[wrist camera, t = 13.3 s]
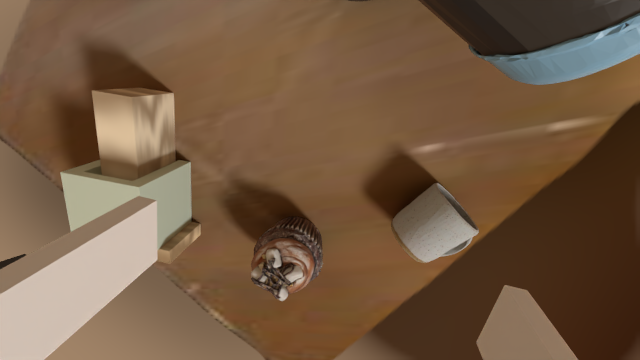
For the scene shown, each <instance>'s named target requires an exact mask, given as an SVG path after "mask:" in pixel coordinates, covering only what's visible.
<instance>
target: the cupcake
mask: <svg viewBox="0 0 640 360" xmlns="http://www.w3.org/2000/svg"><path fill="white" fill-rule="evenodd" d="M322 259H323V254H322V240H321V235H320V232H319V230H318V229H317V228H316V227H315V225H314V224H313V223H311V222H310V221H308V220H306V219H303V218H300V217H288V218H285V219H282V220H281V221H279V222H277V223H276V224H275V225H274V227H272V228H270V229H269V230H267V231H266V232H265V233H264V234H263V235H262V236H261V237H260V238H259V240H258V242H257V244H256V245H255V247H254V257H253V260H252V263H251V267H252V272H251V277H252V278H251V279H252V281H253V282H254V284H256V285H258V286H259V287H261V288H262V289H264V290H267V291H270V292H271V293H272V294H273V295H274V297H275V298H276V299H279V300H280V301H283V300H285V299H286V298H287V296H288V294H291V293H294V292H297V291H299V290H301V289H303V288H304V287H305V286H306V285H307V284H308V283H309V282H310V281H311V280H313V279H315V277H317V276H318V272H321V269H320V268H322V264H323V261H322Z"/></svg>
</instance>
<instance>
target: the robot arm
mask: <svg viewBox="0 0 640 360" xmlns="http://www.w3.org/2000/svg"><path fill="white" fill-rule="evenodd" d="M349 1H368V0H349ZM419 1H420V2H421V3H422V4H423V5H425V6H426V7H427V8H428V9H429V10H430V11H431V12H432V13H434V14H435V15H436V16H437V17H438V18H439V19H440V20H442V21H443V22H444V23H445V24H446V25H447V26H448V27H450V28H451V29H452V30H453V31H454V32H455V33H456V34H458V35H459V36H460V37H461V38H462V39H463V40H464V41H466V42H467V43H468V44H469V49H470V50H471V52H472V53H473V54H474V55H476V56H477V57H479V58H482V59H484V60H486V61H489V62H490V63H491V64H493V65H494V66H495V67H496V68H498V69H499V70H500V71H501V72H503V73H504V74H505V75H506V76H508V77H509V78H511V79H513V80H515V81H520V82H523V83H526V84H534V85H542V84H553V83H559V82H565V81H569V80H573V79H577V78H580V77H583V76H587V75H590V74H592V73H595V72H598V71H601V70H603V69H606V68H608V67H611V66H613V65H616V64H618V63H620V62H623V61H625V60H627V59H629V58H631V57H633V56H635V55H638V54H640V0H419ZM156 260H157V200H154V199H149V198H145V197H141V196H137V197H135V198H133V199H132V200H130V201H128V202H126V203H124V204H122V205H120V206H118V207H117V208H115V209H113V210H111V211H109V212H107V213H105V214H103V215H102V216H100V217H98V218H96V219H94V220H92V221H90V222H88V223H86V224H85V225H83V226H81V227H79V228H77V229H75V230H73V231H71V232H70V233H68V234H66V235H64V236H62V237H60V238H58V239H56V240H54V241H53V242H51V243H49V244H47V245H45V246H43V247H41V248H39V249H38V250H36V251H34V252H32V253H30V254H28V255H26V254H23V255H20V256H17V257H14V258H11V259H7V260H5V261H1V262H0V360H44V359H45V358H46V357H48V356H49V355H50V354H51V353H52V352H53V351H54V350H56V349H57V348H58V347H59V346H60V345H61V344H62V343H63V342H64V341H66V340H67V339H68V338H69V337H70V336H71V335H73V333H75V332H76V331H77V330H78V329H79V328H80V327H82V326H83V325H84V324H85V323H86V322H87V321H88V320H89V319H91V318H92V317H93V316H94V315H95V314H96V313H97V312H99V310H101V309H102V308H103V307H104V306H105V305H106V304H108V303H109V302H110V301H111V300H112V299H113V298H114V297H116V296H117V295H118V294H119V293H120V292H121V291H122V290H124V289H125V288H126V287H127V286H128V285H129V284H130V283H131V282H132V281H134V280H135V279H136V278H137V277H138V276H139V275H140V274H141V273H143V272H144V271H145V270H146V269H147V268H148V267H150V266H151V265H152V264H153V263H154V262H155V261H156ZM476 343H477V345H478V348H479V350H480V353H481V355H482V358H483V360H578V359H577V358H576V356H575V355H574V353H573V352H572V351H571V349H570V348H569V347H568V345H567V344H566V343H565V341H564V340H563V339H562V337H561V336H560V334H559V333H558V332H557V330H556V329H555V328H554V326H553V325H552V323H551V322H550V321H549V320H548V318H547V317H546V315H545V314H544V313H543V311H542V310H541V309H540V307H539V306H538V304H537V303H536V302H535V300H534V299H533V298H532V296H531V295H530V294H529V292H528V291H527V290H523V289H519V288H515V287H511V286H507V285H505V286H504V288H503V290H502V292H501V294H500V296H499V298H498V300H497V302H496V304H495V306H494V308H493V310H492V312H491V314H490V316H489V318H488V320H487V322H486V324H485V326H484V328H483V330H482V332H481V334H480V336H479V338H478V340H477V342H476Z"/></svg>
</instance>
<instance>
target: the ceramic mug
mask: <svg viewBox="0 0 640 360" xmlns="http://www.w3.org/2000/svg"><path fill="white" fill-rule="evenodd" d="M391 227H392V231H393V234H394V236H395V238H396V240H397V241H398V243H399V244H400V246H401V247H402V248H403V249H404V250H405V252H406V253H407V254H408V255H409V256H411V257H412V258H413V259H415V260H416V261H418V262H421V263H426V262H429V261H432V260H434V259H436V258H438V257H440V256H448V255H452V254H455V253H457V252H459V251H461V250H462V249H464V248H465V247H466V246H468V245H469V243H470V242H471V240H472V237H473V236H475V235H476V234H478V233H479V230H478V228H477V226H476V224H475V223H474V221H473V220H472V219H471V217H470V216H469V215H468V214H467V212H466V211H465V210H464V209H463V207H462V206H461V205H460V204H459V203H458V202H457V201H456V200H455V198H454V197H453V196H452V195H451V194H450V193H449V192H448V191H447V190H446V189H445V188H444V187H443V186H441V185H440V184H439V183H434V184H433V185H432V186H431V187H429V188H428V189H427V190H426V191H424V192H423V193H422V194H421V195H419V196H418V197H417V198H416V199H415V200H414V201H412V202H411V203H410V204H409V205H408V206H406V207H405V208H404V209H402V210H401V211H400V212H399V213H398V214H397V215H396V216H395V217H394V218H393V220H392V223H391Z"/></svg>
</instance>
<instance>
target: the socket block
mask: <svg viewBox="0 0 640 360" xmlns="http://www.w3.org/2000/svg"><path fill="white" fill-rule="evenodd" d="M60 173H61V178H62V184H63V190H64V195H65V200H66V207H67V212H68V218H69V224H70V229H71V231H73V230H75V229H77V228H79V227H81V226H83V225H85V224H86V223H88V222H90V221H92V220H94V219H96V218H98V217H100V216H102V215H103V214H105V213H107V212H109V211H111V210H113V209H115V208H117V207H118V206H120V205H122V204H124V203H126V202H128V201H130V200H132V199H133V198H135V197H137V196H141V197H145V198H149V199H154V200H157V250H158V249H160V248H161V247H162V246H163V245H164V244H166V243H167V242H168V241H169V240H170V239H172V238H173V237H174V236H175V235H176V234H178V233H179V232H180V231H181V230H182V229H184V228H185V227H186V226H187V225H188V224H189V223H191V222H192V217H191V162H188V161H183V160H178V161H176V162H174V163H171V164H169V165H167V166H165V167H163V168H161V169H158V170H156V171H154V172H152V173H150V174H147V175H145V176H143V177H141V178H139V179H136V180H134V181H129V180H124V179H119V178H113V177H108V176H103V175H102V172H101V163H100V160H97V161H94V162H91V163H88V164H85V165H81V166H78V167H75V168H72V169H69V170H66V171H63V172H60Z"/></svg>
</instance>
